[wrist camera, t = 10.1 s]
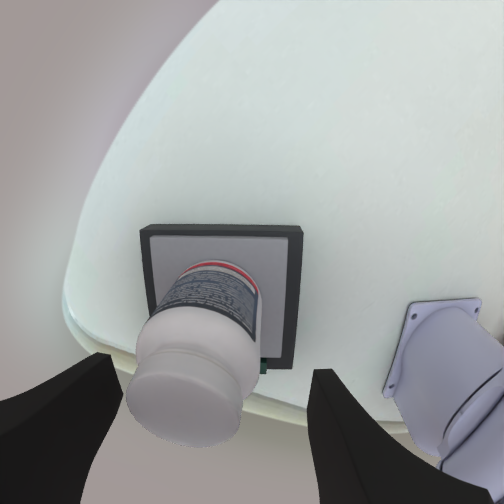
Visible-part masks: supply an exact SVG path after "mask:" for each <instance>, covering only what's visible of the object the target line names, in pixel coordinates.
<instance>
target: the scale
mask: <svg viewBox="0 0 504 504" xmlns="http://www.w3.org/2000/svg"><path fill="white" fill-rule="evenodd" d="M140 242H141V253H142V263H143V272H144V280H145V288H146V295H147V302H148V309H149V315H150V316H151V315H152V313H153V312H154V310H155V309H156V308H157V306H158V305H159V304H160V302H161V301H162V299H163V298H164V297H165V295H166V294H167V292H168V291H169V290H170V288H171V287H172V286H173V284H174V283H175V282H176V280H177V279H178V278H179V276H180V275H181V274H182V273H183V272H184V271H185V270H186V269H187V268H189V267H190V266H192V265H194V264H196V263H199V262H202V261H208V260H219V261H225V262H229V263H232V264H234V265H236V266H238V267H240V268H242V269H243V270H244V271H246V272H247V273H248V274H249V275H250V276H251V277H252V278H253V280H254V281H255V283H256V284H257V286H258V289H259V291H260V294H261V299H262V317H261V338H260V374H266V371H267V369H292V367H293V358H294V348H295V339H296V329H297V318H298V306H299V294H300V281H301V267H302V251H303V231H302V229H301V228H300V226H281V225H224V224H150V225H148V226H147V227H145V228H143V229H141V230H140Z"/></svg>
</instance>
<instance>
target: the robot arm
mask: <svg viewBox="0 0 504 504" xmlns="http://www.w3.org/2000/svg"><path fill="white" fill-rule="evenodd" d="M481 304H482V301H481V299H479V298H472V299H460V300H448V301H433V302H417V303H413V304H411V305H410V307H409V309H408V313H407V317H406V321H405V325H404V328H403V332H402V336H401V339H400V343H399V346H398V349H397V353H396V356H395V359H394V362H393V365H392V368H391V371H390V374H389V377H388V380H387V382H386V385H385V388H384V391H383V396H384V398H390V397H393V398H394V400H395V403H396V405H397V407H398V409H399V411H400V413H401V415H402V418H403V420H404V422H405V424H406V426H407V429H408V431H409V433H410V435H411V437H412V440H413V441H414V443H415V444H416V446H417V447H418V448H420V449H421V450H422V451H424V452H425V453H427V454H429V455H432V456H438V457H441V460H440V461H439V462H438V464H437V466H436V468H435V467H433V466H432V465H430V464H428V463H426V462H425V461H423V460H422V459H420V458H419V457H417V456H416V455H414V454H413V453H411V452H410V451H409V450H407V449H406V448H405V447H403V446H402V445H401V444H400V443H398V442H397V441H396V440H395V439H394V438H392V437H391V436H390V435H389V434H388V433H387V432H386V431H385V430H384V429H383V428H382V427H381V426H380V425H379V424H378V423H377V422H376V421H375V420H374V419H373V418H372V417H371V416H370V415H369V414H368V413H367V412H366V411H365V409H364V408H363V407H362V406H361V405H360V404H359V403H358V401H357V400H356V399H355V398H354V397H353V395H352V394H351V393H350V392H349V390H348V389H347V388H346V386H345V385H344V384H343V383H342V381H341V380H340V379H339V377H338V376H337V374H336V373H335V372H334V371H333V370H332V369H314V371H313V377H312V383H311V389H310V395H309V400H308V406H307V422H308V435H309V440H310V445H311V451H312V456H313V461H314V466H315V471H316V476H317V482H318V489H319V497H320V504H504V346H502V345H501V344H500V343H499V342H498V341H497V340H496V339H495V338H494V337H493V336H492V335H491V334H490V333H489V332H488V331H486V330H485V329H484V328H483V327H482V326H481V325H480V324H479V323H478V322H476V320H477V317H478V314H479V311H480V308H481ZM413 314H415V315H414V316H413V317H412V315H413ZM390 385H391V386H390ZM122 397H123V392H122V389H121V386H120V383H119V380H118V378H117V374H116V371H115V368H114V365H113V362H112V358H111V355H109V354H104V353H99V352H97V353H95V354H93V355H91V356H89V357H87V358H85V359H84V360H82V361H80V362H79V363H77V364H75V365H73V366H72V367H70V368H69V369H67V370H65V371H63V372H62V373H60V374H58V375H56V376H55V377H53V378H51V379H49V380H47V381H46V382H44V383H42V384H40V385H38V386H36V387H34V388H33V389H30V390H28V391H26V392H24V393H22V394H19V395H16V396H14V397H11V398H8V399H5V400H2V401H0V504H80V501H81V497H82V493H83V489H84V486H85V482H86V479H87V476H88V473H89V470H90V467H91V464H92V462H93V460H94V457H95V455H96V453H97V451H98V449H99V448H100V446H101V444H102V442H103V440H104V438H105V436H106V434H107V432H108V430H109V428H110V426H111V425H112V423H113V420H114V419H115V416H116V414H117V411H118V409H119V406H120V403H121V400H122Z"/></svg>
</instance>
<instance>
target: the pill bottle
mask: <svg viewBox="0 0 504 504" xmlns="http://www.w3.org/2000/svg"><path fill="white" fill-rule="evenodd" d="M261 317H262V299H261V294H260V291H259V289H258V286H257V284H256V283H255V281H254V280H253V278H252V277H251V276H250V275H249V274H248V273H247V272H246V271H244V270H243V269H242V268H240V267H238V266H236V265H234V264H232V263H229V262H225V261H219V260H208V261H202V262H199V263H196V264H194V265H192V266H190V267H189V268H187V269H186V270H185V271H184V272H183V273H182V274H181V275H180V276H179V278H178V279H177V280H176V282H175V283H174V284H173V286H172V287H171V288H170V290H169V291H168V292H167V294H166V295H165V297H164V298H163V299H162V301H161V302H160V304H159V305H158V306H157V308H156V309H155V310H154V312H153V313H152V315H151V316H150V317H149V319H148V320H147V322H146V323H145V325H144V326H143V328H142V330H141V332H140V334H139V336H138V340H137V343H136V359H137V364H138V367H137V369H136V371H135V374H134V376H133V378H132V379H131V382H130V383H129V386H128V388H127V391H126V400H127V405H128V407H129V410H130V412H131V414H132V415H133V416H134V418H135V419H136V420H137V421H138V422H139V423H140V424H141V425H142V426H143V427H144V428H145V429H147V430H148V431H149V432H151V433H152V434H154V435H156V436H157V437H159V438H161V439H164V440H166V441H169V442H172V443H174V444H178V445H181V446H188V447H197V448H202V447H211V446H216V445H219V444H222V443H224V442H226V441H228V440H229V439H231V438H232V437H233V436H234V435H235V433H236V432H237V430H238V428H239V425H240V418H241V412H242V407H243V400H245V399H246V398H247V397H248V396H249V395H250V394H251V392H252V391H253V390H254V388H255V386H256V384H257V382H258V379H259V374H260V338H261Z"/></svg>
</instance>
